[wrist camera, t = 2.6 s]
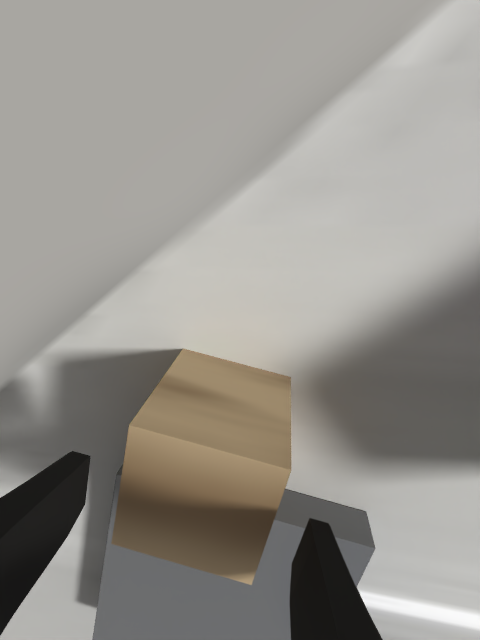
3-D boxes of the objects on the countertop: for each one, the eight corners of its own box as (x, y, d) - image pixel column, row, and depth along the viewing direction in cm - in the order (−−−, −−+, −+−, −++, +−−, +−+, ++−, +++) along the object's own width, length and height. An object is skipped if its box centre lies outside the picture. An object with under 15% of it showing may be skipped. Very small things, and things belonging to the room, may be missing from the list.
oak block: (263, 464, 18) (251, 585, 12) (165, 437, 18) (111, 543, 13) (290, 376, 16) (291, 470, 11) (183, 348, 17) (128, 425, 11)
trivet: (298, 660, 22) (299, 703, 20) (108, 603, 23) (92, 639, 21) (366, 512, 18) (375, 548, 16) (133, 446, 19) (116, 474, 17)
